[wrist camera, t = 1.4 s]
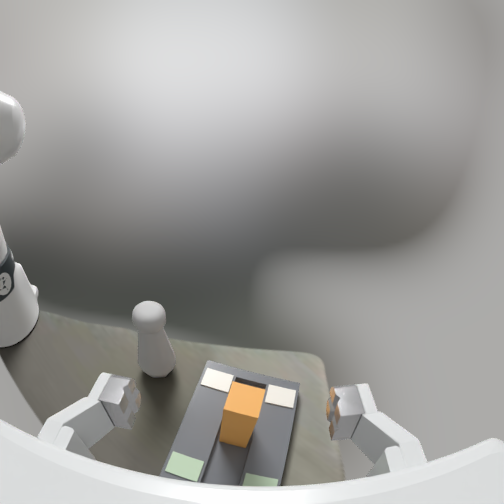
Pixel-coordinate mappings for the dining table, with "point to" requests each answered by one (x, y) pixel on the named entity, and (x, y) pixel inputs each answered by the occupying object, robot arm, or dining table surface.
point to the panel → (226, 455)
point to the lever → (240, 414)
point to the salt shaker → (153, 340)
